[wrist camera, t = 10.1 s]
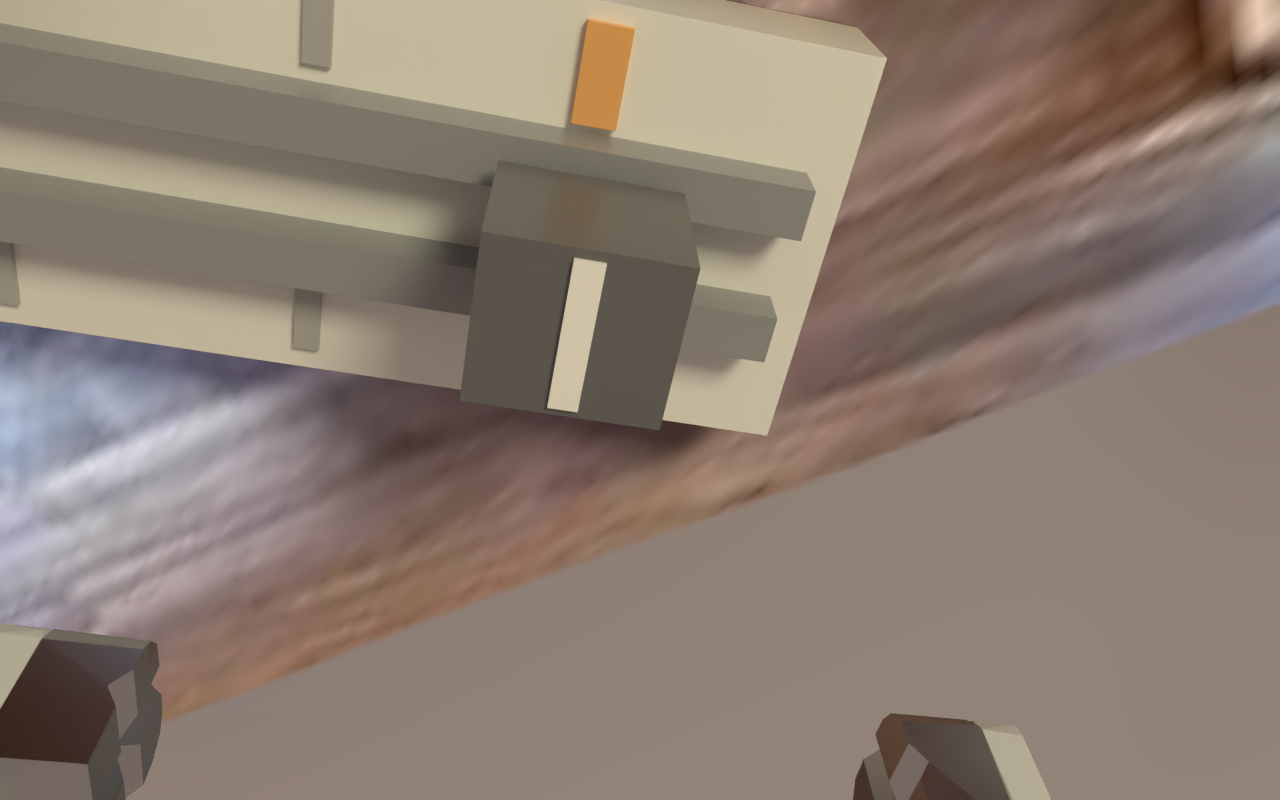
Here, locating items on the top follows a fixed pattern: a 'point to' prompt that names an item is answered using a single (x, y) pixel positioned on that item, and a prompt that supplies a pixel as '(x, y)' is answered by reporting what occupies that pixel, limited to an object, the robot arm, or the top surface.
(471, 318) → the fader tab
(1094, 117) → the top surface
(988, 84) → the top surface
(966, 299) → the top surface
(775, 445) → the top surface
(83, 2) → the fader console
